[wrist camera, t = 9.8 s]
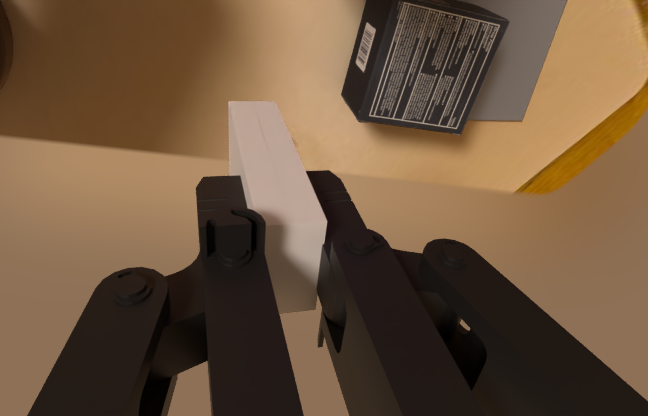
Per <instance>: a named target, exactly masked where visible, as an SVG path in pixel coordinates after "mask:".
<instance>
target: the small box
mask: <svg viewBox="0 0 648 416" xmlns="http://www.w3.org/2000/svg"><path fill="white" fill-rule="evenodd" d="M509 23H510V21H509V20H508V19H506V18H504V17H501V16H499V15H497V14H495V13H493V12H491V11H489V10H487V9H484V8H482V7H480V6H477V5H474V4H471V3H467V2H462V1H458V0H366V4H365V8H364V12H363V15H362V19H361V23H360V26H359V30H358V34H357V38H356V41H355V45H354V49H353V53H352V56H351V60H350V64H349V67H348V71H347V75H346V78H345V82H344V86H343V89H342V93H341V95H342V97H343V99H344V101H345V102H346V104H347V105H348V106H349V108H350V109H351V111H352V112H353V114H354V115H355V117H356V119H357V120H358V122H373V123H380V124H387V125H394V126H400V127H408V128H416V129H423V130H429V131H437V132H445V133H450V134H454V135H461V134H462V132H463V129H464V127H465V125H466V122H467V120H468V118H469V115H470V113H471V110H472V108H473V106H474V104H475V101H476V99H477V97H478V94H479V92H480V90H481V87H482V85H483V83H484V80H485V78H486V76H487V74H488V71H489V69H490V67H491V64H492V62H493V60H494V57H495V55H496V52H497V50H498V48H499V46H500V43H501V41H502V39H503V37H504V34H505V32H506V30H507V27H508V25H509Z"/></svg>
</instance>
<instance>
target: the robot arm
mask: <svg viewBox="0 0 648 416" xmlns="http://www.w3.org/2000/svg"><path fill="white" fill-rule="evenodd" d="M12 57H13V41H12V34H11V29H10V25H9V21H8V18H7V16H6V13H5V10H4V8H3V6H2V4H1V2H0V88H1V87H2V85H3V84H4V82H5V80H6V78H7V76H8V74H9V71H10V67H11V63H12ZM228 112H229V176H214V177H203V178H202V179H201V181H200V182H199V184H198V186H197V187H196V196H197V213H198V228H199V243H200V252H199V255H198V257H197V259H196V260H195V261H194V262H193V263H192V264H191V265H190V266H188V267H186V268H185V269H184V270H181V271H179V272H176V273H174V274H171V275H168V276H165V277H164V276H163V275H162V274H160V273H159V272H157V271H156V270H154V269H149V268H144V267H136V268H127V269H123V270H120V271H117V272H114V273H113V274H111V275H109V276H108V277H106V278H105V279H103V280H102V281H101V283H100V284H99V285H98V286H97V287H96V289H95V291H94V292H93V294H92V296H91V298H90V300H89V302H88V304H87V305H86V307H85V309H84V311H83V313H82V315H81V317H80V318H79V320H78V322H77V324H76V326H75V328H74V329H73V331H72V333H71V335H70V337H69V339H68V341H67V343H66V344H65V347H64V348H63V350H62V352H61V354H60V356H59V357H58V359H57V361H56V363H55V365H54V367H53V369H52V371H51V372H50V374H49V376H48V378H47V380H46V382H45V384H44V386H43V387H42V390H41V391H40V393H39V395H38V397H37V399H36V400H35V402H34V404H33V406H32V408H31V410H30V412H29V414H28V415H27V416H167V414H168V410H169V407H170V403H171V399H172V396H173V392H174V389H175V385H176V381H177V375H178V374H179V373H181V372H183V371H185V370H188V369H190V368H192V367H194V366H197V365H199V364H201V363H203V362H206V361H208V372H209V373H208V374H209V387H210V401H211V414H212V416H304V415H303V411H302V407H301V402H300V399H299V394H298V390H297V386H296V382H295V378H294V373H293V369H292V365H291V361H290V357H289V353H288V349H287V344H286V340H285V336H284V332H283V328H282V323H281V319H280V315H279V314H283V313H291V312H299V311H307V310H315V309H316V301H317V294H318V296H319V300H320V302H321V305H322V313H321V320H320V327H319V334H318V347H322V346H323V340H324V337H325V340H326V343H327V347H328V350H329V353H330V356H331V359H332V362H333V366H334V368H335V372H336V375H337V378H338V381H339V384H340V388H341V391H342V394H343V397H344V400H345V403H346V406H347V410H348V413H349V416H648V401H647V400H646V399H644V398H643V397H642V396H641V395H640V394H639V393H638V392H636V391H635V390H634V389H633V388H632V387H631V386H630V385H628V384H627V383H626V382H625V381H624V380H622V379H621V378H620V377H619V376H618V375H617V374H616V373H615V372H613V371H612V370H611V369H610V368H609V367H608V366H607V365H605V364H604V363H603V362H602V361H601V360H600V359H598V358H597V357H596V356H595V355H594V354H593V353H592V352H590V351H589V350H588V349H587V348H586V347H585V346H584V345H582V344H581V343H580V342H579V341H578V340H577V339H575V338H574V337H573V336H572V335H571V334H570V333H569V332H567V331H566V330H565V329H564V328H563V327H562V326H560V325H559V324H558V323H557V322H556V321H555V320H554V319H552V318H551V317H550V316H549V315H548V314H547V313H546V312H544V311H543V310H542V309H541V308H540V307H539V306H538V305H537V304H535V303H534V302H533V301H532V300H531V299H529V297H527V296H526V295H525V294H524V293H523V292H522V291H520V290H519V289H518V288H517V287H516V286H515V285H514V284H512V283H511V282H510V281H509V280H508V279H507V278H506V277H504V276H503V275H502V274H501V273H500V272H499V271H497V270H496V269H495V268H494V267H493V266H492V265H491V264H489V263H488V262H487V261H486V260H485V259H484V258H482V257H481V256H480V255H479V254H478V253H477V252H476V251H475V250H473V249H472V248H470V247H469V246H467V245H466V244H464V243H461V242H458V241H455V240H450V239H436V240H433V241H431V242H429V243H427V245H426V246H425V248H424V250H423V254H421V253H414V252H407V251H401V250H396V249H392V248H391V247H390V245H389V244H388V242H387V241H386V240H385V239H384V237H383V236H382V235H380V234H378V233H377V232H375V231H373V230H370V229H367V228H366V226H365V224H364V222H363V220H362V218H361V217H360V215H359V213H358V211H357V209H356V207H355V205H354V203H353V202H352V201H351V198H350V196H349V194H348V192H347V190H346V189H345V187H344V184H343V183H342V181H341V179H339V178H338V177H337V176H336V175H334V174H333V173H332V172H330V171H329V170H326V171H305V169H304V166H303V164H302V162H301V159H300V157H299V155H298V153H297V150H296V148H295V146H294V143H293V141H292V139H291V136H290V134H289V132H288V129H287V127H286V125H285V122H284V120H283V118H282V116H281V113H280V111H279V109H278V106H277V104H276V102H275V101H228ZM461 319H462V320H463V321H464V322H465V323H466V324H467V325H468V326H469V327H470V328H471V329H470V331H468V330H466V329H465V328H464V327H462V326H461V324H460V321H461Z"/></svg>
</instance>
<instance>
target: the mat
mask: <svg viewBox="0 0 648 416" xmlns="http://www.w3.org/2000/svg"><path fill="white" fill-rule="evenodd" d="M458 1H462V2H467V3H471V4H474V5H477V6H480V7H482V8H484V9H487V10H489V11H491V12H493V13H495V14H497V15H499V16H501V17H504V18H506V19H508V20H509V21H510V23H509V25H508V27H507V30H506V32H505V34H504V37H503V39H502V41H501V43H500V46H499V48H498V50H497V52H496V55H495V57H494V60H493V62H492V64H491V67H490V69H489V71H488V74H487V76H486V78H485V80H484V83H483V85H482V87H481V90H480V92H479V94H478V97H477V99H476V101H475V104H474V106H473V108H472V110H471V113H470V115H469V118H468V120H506V121H522V120H523V117H524V114H525V112H526V109H527V106H528V104H529V101H530V98H531V96H532V93H533V90H534V88H535V85H536V82H537V80H538V77H539V74H540V72H541V69H542V66H543V64H544V61H545V58H546V56H547V53H548V50H549V48H550V45H551V42H552V40H553V37H554V34H555V32H556V29H557V26H558V24H559V21H560V18H561V15H562V13H563V10H564V7H565V5H566V2H567V0H458Z"/></svg>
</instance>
